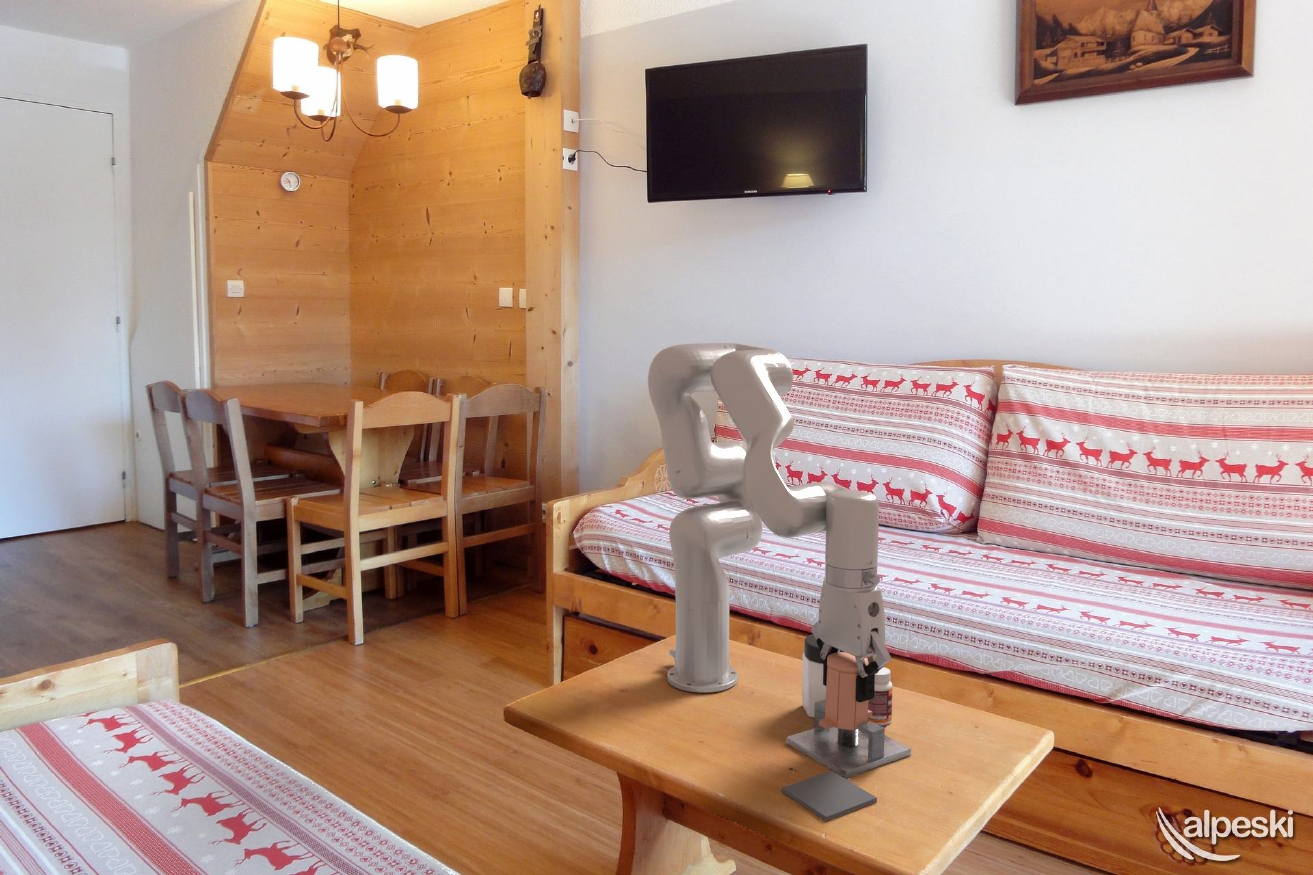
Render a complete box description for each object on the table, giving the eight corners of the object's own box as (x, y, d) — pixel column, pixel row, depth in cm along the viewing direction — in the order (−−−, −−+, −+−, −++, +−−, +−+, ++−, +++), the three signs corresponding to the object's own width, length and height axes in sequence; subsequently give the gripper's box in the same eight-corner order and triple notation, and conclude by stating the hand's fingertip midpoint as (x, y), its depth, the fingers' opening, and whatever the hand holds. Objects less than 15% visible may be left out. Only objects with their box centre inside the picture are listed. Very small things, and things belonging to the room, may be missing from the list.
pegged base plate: (786, 743, 143) (787, 674, 142) (849, 722, 150) (850, 657, 149) (845, 778, 132) (847, 703, 131) (910, 754, 139) (912, 683, 138)
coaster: (781, 791, 129) (781, 787, 129) (830, 774, 134) (830, 770, 134) (826, 821, 121) (826, 816, 121) (876, 801, 126) (876, 797, 126)
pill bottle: (894, 726, 149) (896, 675, 148) (864, 726, 149) (865, 675, 148) (888, 713, 154) (889, 664, 153) (858, 713, 154) (859, 664, 153)
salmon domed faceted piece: (853, 707, 146) (856, 648, 145) (883, 722, 140) (887, 661, 139) (808, 719, 141) (811, 657, 140) (838, 735, 136) (841, 671, 134)
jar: (825, 725, 149) (826, 653, 148) (791, 708, 156) (792, 638, 154) (865, 712, 154) (867, 642, 153) (830, 695, 161) (832, 628, 159)
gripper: (913, 585, 133) (909, 706, 135) (829, 558, 147) (827, 668, 150) (875, 594, 129) (871, 718, 131) (792, 565, 143) (791, 678, 146)
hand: (848, 690), depth 140 cm, fingers closed on salmon domed faceted piece, 6 cm apart
